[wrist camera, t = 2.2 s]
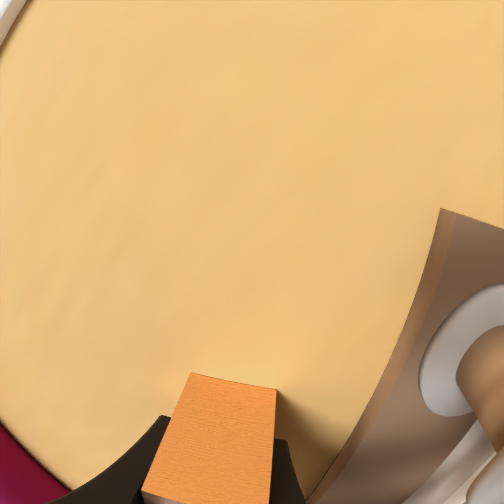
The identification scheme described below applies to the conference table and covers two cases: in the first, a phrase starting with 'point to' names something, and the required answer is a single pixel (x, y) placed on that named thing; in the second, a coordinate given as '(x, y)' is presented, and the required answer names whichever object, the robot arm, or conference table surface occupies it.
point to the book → (24, 476)
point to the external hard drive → (8, 15)
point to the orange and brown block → (215, 446)
